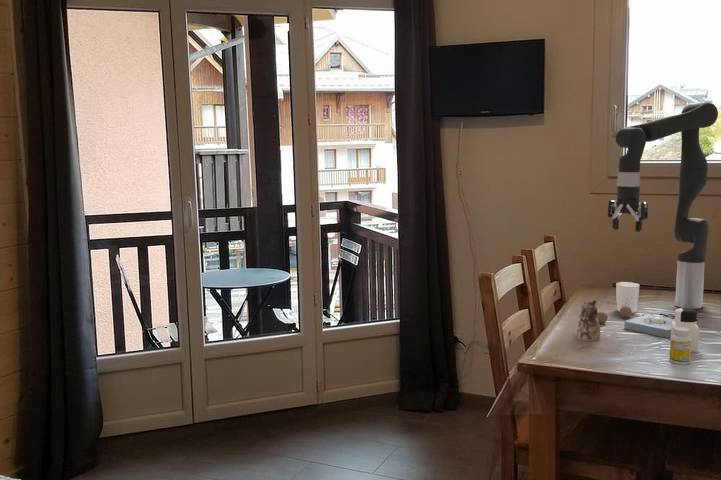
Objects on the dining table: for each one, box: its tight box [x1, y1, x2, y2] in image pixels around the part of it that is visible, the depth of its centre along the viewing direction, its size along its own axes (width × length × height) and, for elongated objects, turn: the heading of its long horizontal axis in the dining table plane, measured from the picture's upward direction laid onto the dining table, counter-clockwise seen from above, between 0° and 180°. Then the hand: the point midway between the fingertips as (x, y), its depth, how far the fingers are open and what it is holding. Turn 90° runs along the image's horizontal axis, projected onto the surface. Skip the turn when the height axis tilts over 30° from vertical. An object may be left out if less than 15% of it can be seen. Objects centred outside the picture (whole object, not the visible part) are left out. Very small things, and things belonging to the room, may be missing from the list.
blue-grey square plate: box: [623, 313, 675, 339], centre depth 239 cm, size 15×15×2 cm
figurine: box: [576, 300, 602, 342], centre depth 228 cm, size 7×7×12 cm
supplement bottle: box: [669, 327, 692, 365], centre depth 203 cm, size 5×5×10 cm
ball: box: [651, 317, 664, 324], centre depth 239 cm, size 4×4×4 cm
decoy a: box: [619, 306, 633, 319], centre depth 255 cm, size 4×4×4 cm
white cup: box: [615, 281, 640, 314], centre depth 264 cm, size 8×8×10 cm
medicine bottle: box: [669, 307, 700, 353], centre depth 216 cm, size 7×7×12 cm
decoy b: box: [597, 311, 608, 324], centre depth 247 cm, size 4×4×4 cm
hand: (626, 230), depth 257 cm, fingers open, 8 cm apart
